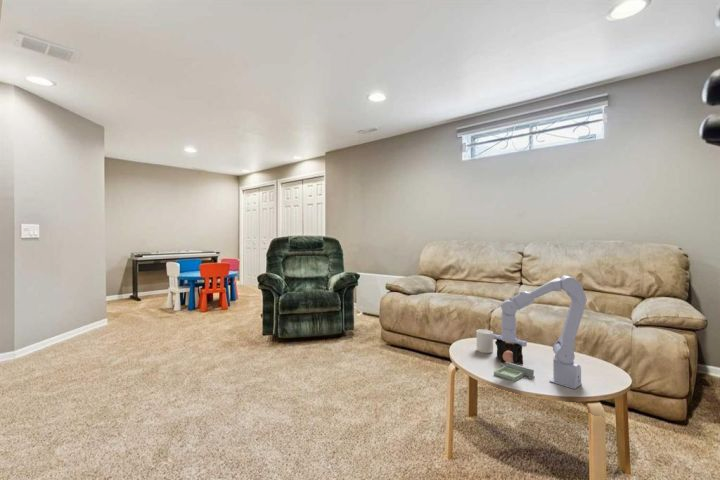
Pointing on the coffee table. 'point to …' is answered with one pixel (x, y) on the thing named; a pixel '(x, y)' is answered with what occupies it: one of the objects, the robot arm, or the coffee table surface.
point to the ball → (508, 356)
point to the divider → (521, 369)
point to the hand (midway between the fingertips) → (508, 359)
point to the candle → (509, 348)
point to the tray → (509, 373)
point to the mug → (484, 341)
